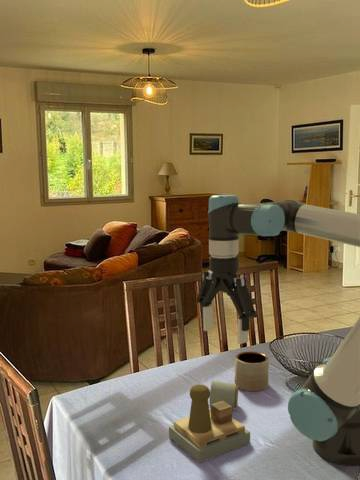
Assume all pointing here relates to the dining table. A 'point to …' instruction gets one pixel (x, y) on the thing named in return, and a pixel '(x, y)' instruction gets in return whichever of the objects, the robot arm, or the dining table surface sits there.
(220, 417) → the crate
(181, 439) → the dock
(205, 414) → the olive pawn
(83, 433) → the dining table surface
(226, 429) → the pallet
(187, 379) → the dining table surface
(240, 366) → the planter
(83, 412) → the dining table surface
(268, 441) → the dining table surface
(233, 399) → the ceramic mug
